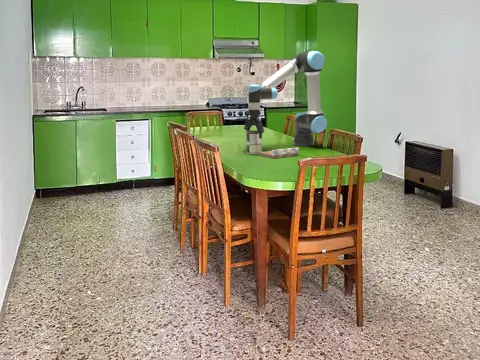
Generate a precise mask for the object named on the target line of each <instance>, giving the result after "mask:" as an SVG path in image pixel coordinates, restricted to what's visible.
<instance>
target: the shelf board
mask: <svg viewBox="0 0 480 360" xmlns="http://www.w3.org/2000/svg"><path fill="white" fill-rule="evenodd" d="M299 154H300V148H299V146H297V147H291V148H290V147H289V148H282V149H273V150H267V151H262V152H260V154H259V156H261V157H264V158H265V157H266V158H268V159H269V158H270V159H281V158H288V157H298V156H300V155H299Z"/></svg>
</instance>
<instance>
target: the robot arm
mask: <svg viewBox="0 0 480 360" xmlns="http://www.w3.org/2000/svg"><path fill="white" fill-rule="evenodd" d="M325 62H326V61H325V56H324V55H323V54H322V53H321V52H320V51H315V50H310V51H309V50H308V51H301V52H300V53H298V54H296V55H295V56H293V57H292V58H291V59H290V60H289V61H288V62H287V64H286V65H284V66H283V67H281V68H280V69H279V70H278V71H276V72H275V73H273V74H272V75H271V76H270V77H268V78H266V80H264V81H263V82H262V83H260V84H250V85H248V92H247V93H248V99H247V100H248V104H247V105H248V107H247V108H248V111H247V114H248V115H247V116H246V121H245V123H244V127H243V129H244V130H245V132H246V131H251V128H252V126H253V125H255V128H256V130H257V131H258V138H257V143H258V144H259V143H262V144H263V133H265V129H264V126H263V121H262V120H263V119H262V117H259V116H260V115H261V110H260V109H261V100H267V101H268V100H276V99H277V98H278V95H279V94H278V93H279V92H278V90H277V88H276V87H277V86H279V85H280V84H282V83H283V82H284V81H285V80H287V79H288V78H289V77H290V76H292V75H294V73H295V74H297V73H298V72H301V71H302V70H303V73H304V75H306V87H307V88H306V91H307V93H306V95H307V111H305V112H304V111H303V112H297V113H296V114H295V133H294V134H295V135H294V137H293V139H292V140H293V141H292V145H293V146H297V147H299V146H300V147H310V146H314V145H315V140H314V137H313V136H314V135H313V133H315V134H317V133H321V132H324V130H325V129H326V128H327V125H328V120H327V118H326V117H325V116H324V111H323V110H322V107H321V106H322V105H321V82H320V81H321V80H320V79H321V78H320V75H321V72H322V68H323V67H324V65H325Z"/></svg>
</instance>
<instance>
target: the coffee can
mask: <svg viewBox="0 0 480 360" xmlns="http://www.w3.org/2000/svg"><path fill="white" fill-rule="evenodd" d="M257 138H258V131H257V129H255V130H253V129H252V130H251V129H250V130H249V131H246V130H245V141H246V146H245V147H246V154H249V155H260V152H263V151H262V150H263V149H262V148H263V142H262V143H259V144H258V143H257Z"/></svg>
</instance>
